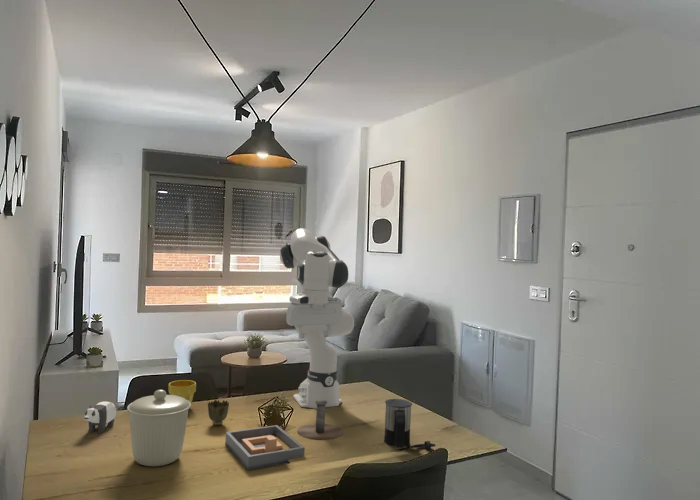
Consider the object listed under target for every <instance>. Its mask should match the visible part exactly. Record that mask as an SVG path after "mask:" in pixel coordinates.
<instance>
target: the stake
mask: <svg viewBox="0 0 700 500" xmlns="http://www.w3.org/2000/svg"><path fill="white" fill-rule="evenodd" d="M316 404H317V408H316V415H315V423H311V424H310V423H309V424H304V425H302V426H299V427H298V428H297V430H296V434H297V435H298V436H300V437H301V438H304V439H308V440H314V441H329V440H335V439H338V438H340V437H341V436H342V435H343V434H344V432H343V430H342V428H340V427H339V426H336V425H333V424H332V425H331V424H327V423H325V422H326V407H325V404H327V401H325V400H316Z"/></svg>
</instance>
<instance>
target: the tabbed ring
mask: <svg viewBox="0 0 700 500" xmlns="http://www.w3.org/2000/svg"><path fill="white" fill-rule="evenodd" d="M262 442H265V446H264V447H257V448H255V447H254V446H253V445H252V444H256V443H262ZM242 445H243V446H244V447H245V448H246V449H247V450H248V451H249V452H250V453H251V454H252V455H255V454H261V453H267V452H273V451H279V450H283V444H281V442H279V441H278V439H277V437H275V436H274V435H272V434H270V435H264V436H260V437H254V438H247V439H242Z"/></svg>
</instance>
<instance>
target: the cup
mask: <svg viewBox="0 0 700 500" xmlns="http://www.w3.org/2000/svg"><path fill="white" fill-rule="evenodd" d="M229 405H230V402H228V400H222V401H220V400H219V399H218V400H217V399H214V400H211V401H208V402H207V411H208V412H207V413H208V417H209V418H208V419H210V420H211V421H212V425H213V426H215V427H218V426H219V427H220V426H222V425H223V424H224V420H225V419H226V418H227V416H228V414H229V407H230V406H229Z"/></svg>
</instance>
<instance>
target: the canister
mask: <svg viewBox="0 0 700 500" xmlns="http://www.w3.org/2000/svg"><path fill="white" fill-rule="evenodd" d="M190 407H192V404H191V403H190V402H189V401H188V400H186V399H184V398H182V397H180V396H175V395H170V394H167V392H166V390H164V389H157V390H155V391H154V392H153V395H147V396H142V397H140V398H137V399H135V400H134V401H133V402H131V403H129V404H128V405H127V407H126V410H127V412H128V414H129V426H130V437H131V439H130V440H131V448H132V455H133V458H134V460H135V462H136V463H138V464H139V465H141V466H146V467H162V466H166V465H169V464H171V463H174V462H175V461H176V460H178V459H179V457H180V456H181V454H182V452H183V446H184V440H185V434H186V429H187V422H188V416H189V408H190ZM190 409H191V408H190Z"/></svg>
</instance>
